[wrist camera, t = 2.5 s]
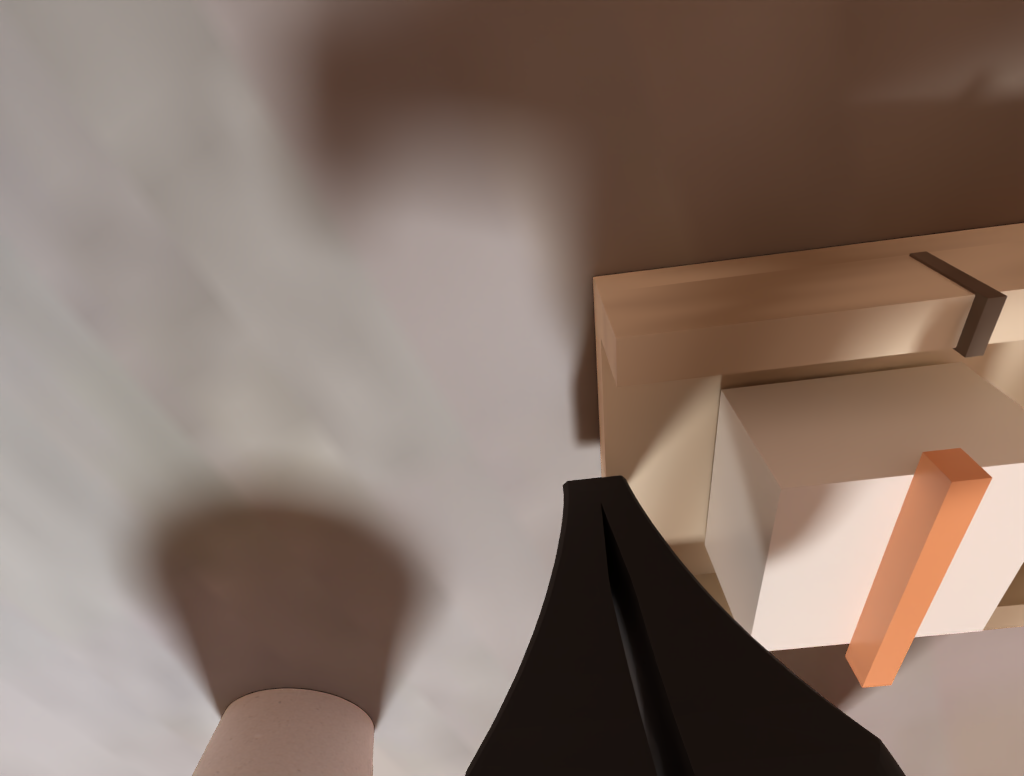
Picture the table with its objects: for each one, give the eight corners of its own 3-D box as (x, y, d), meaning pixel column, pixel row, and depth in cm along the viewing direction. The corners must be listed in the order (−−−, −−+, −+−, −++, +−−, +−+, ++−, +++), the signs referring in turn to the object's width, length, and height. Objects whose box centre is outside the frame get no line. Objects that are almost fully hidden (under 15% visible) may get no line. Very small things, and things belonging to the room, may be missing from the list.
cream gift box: (969, 341, 11) (1143, 461, 8) (893, 537, 15) (997, 675, 12) (723, 369, 12) (805, 497, 9) (703, 557, 15) (757, 697, 12)
